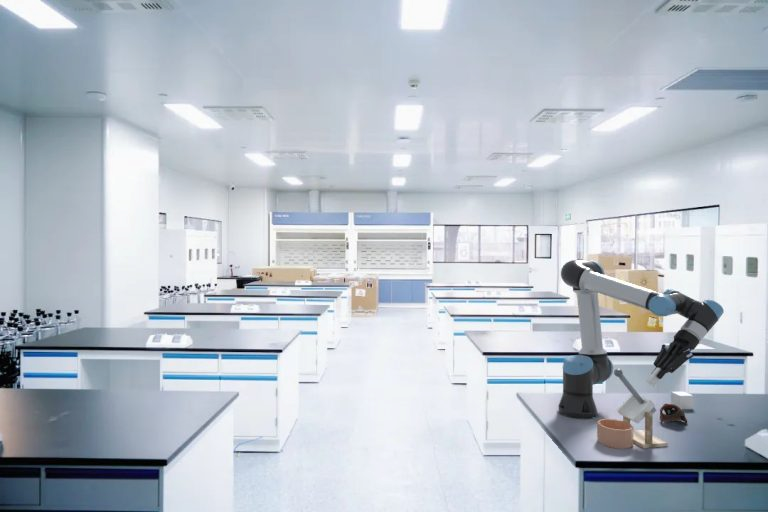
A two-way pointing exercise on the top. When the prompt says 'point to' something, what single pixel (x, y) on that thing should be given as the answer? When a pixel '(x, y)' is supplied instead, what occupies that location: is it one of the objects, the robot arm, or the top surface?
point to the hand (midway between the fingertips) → (649, 383)
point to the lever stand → (646, 434)
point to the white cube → (682, 400)
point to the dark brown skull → (672, 413)
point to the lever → (634, 402)
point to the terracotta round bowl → (615, 433)
